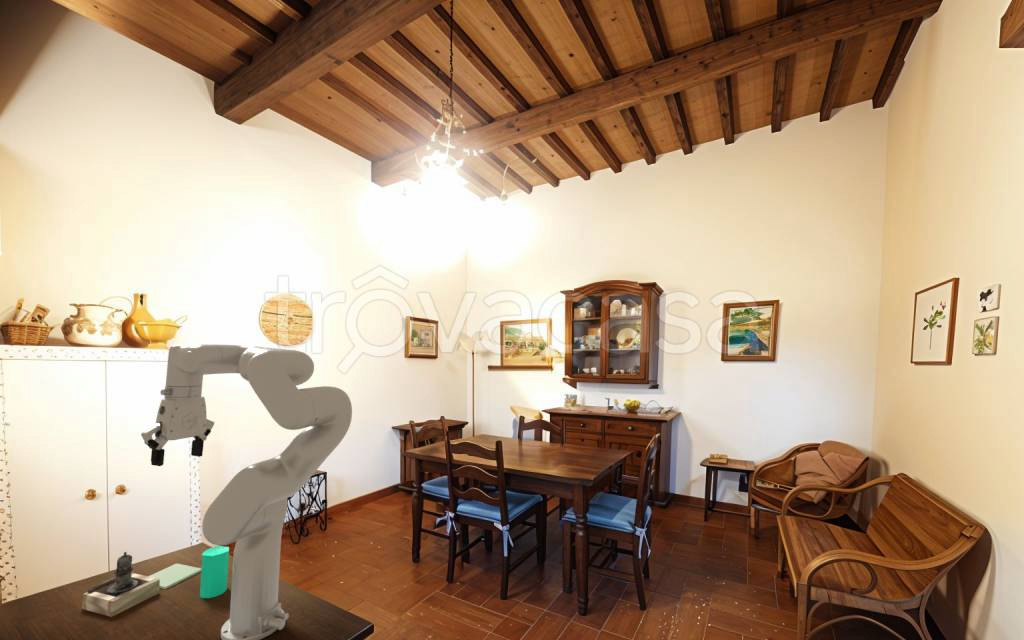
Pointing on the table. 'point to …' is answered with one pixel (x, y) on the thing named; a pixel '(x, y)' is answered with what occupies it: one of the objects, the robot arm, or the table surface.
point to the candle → (214, 572)
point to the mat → (174, 574)
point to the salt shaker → (123, 577)
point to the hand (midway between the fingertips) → (177, 460)
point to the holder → (111, 605)
